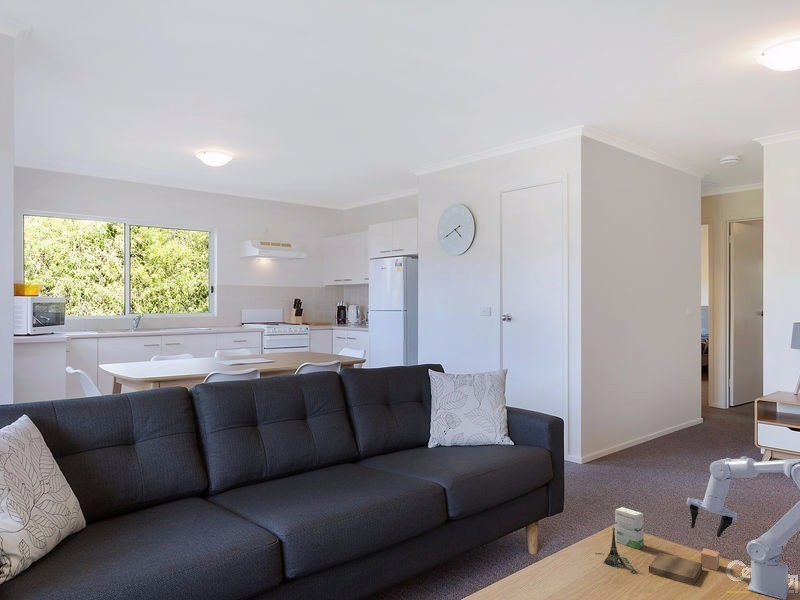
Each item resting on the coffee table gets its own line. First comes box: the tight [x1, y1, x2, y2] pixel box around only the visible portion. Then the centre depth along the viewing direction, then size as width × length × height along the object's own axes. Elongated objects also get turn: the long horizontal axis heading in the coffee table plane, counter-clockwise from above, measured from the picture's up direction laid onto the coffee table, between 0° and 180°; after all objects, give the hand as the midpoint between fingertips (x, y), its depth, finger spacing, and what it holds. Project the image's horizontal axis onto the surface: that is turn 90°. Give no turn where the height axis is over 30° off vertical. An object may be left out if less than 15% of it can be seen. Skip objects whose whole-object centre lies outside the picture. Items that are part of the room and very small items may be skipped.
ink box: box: [614, 506, 645, 550], centre depth 206 cm, size 9×5×12 cm, turn 39°
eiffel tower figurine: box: [594, 527, 639, 575], centre depth 190 cm, size 15×10×13 cm
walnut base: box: [648, 551, 703, 586], centre depth 185 cm, size 13×13×2 cm
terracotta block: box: [700, 547, 720, 571], centre depth 189 cm, size 5×5×4 cm
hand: (705, 531), depth 189 cm, fingers open, 7 cm apart
